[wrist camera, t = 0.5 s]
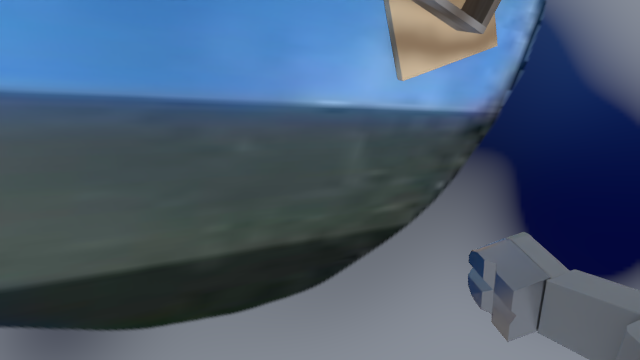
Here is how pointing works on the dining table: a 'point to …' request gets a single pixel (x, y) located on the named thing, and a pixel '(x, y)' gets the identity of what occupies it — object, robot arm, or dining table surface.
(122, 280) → the dining table surface
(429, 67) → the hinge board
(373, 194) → the dining table surface
